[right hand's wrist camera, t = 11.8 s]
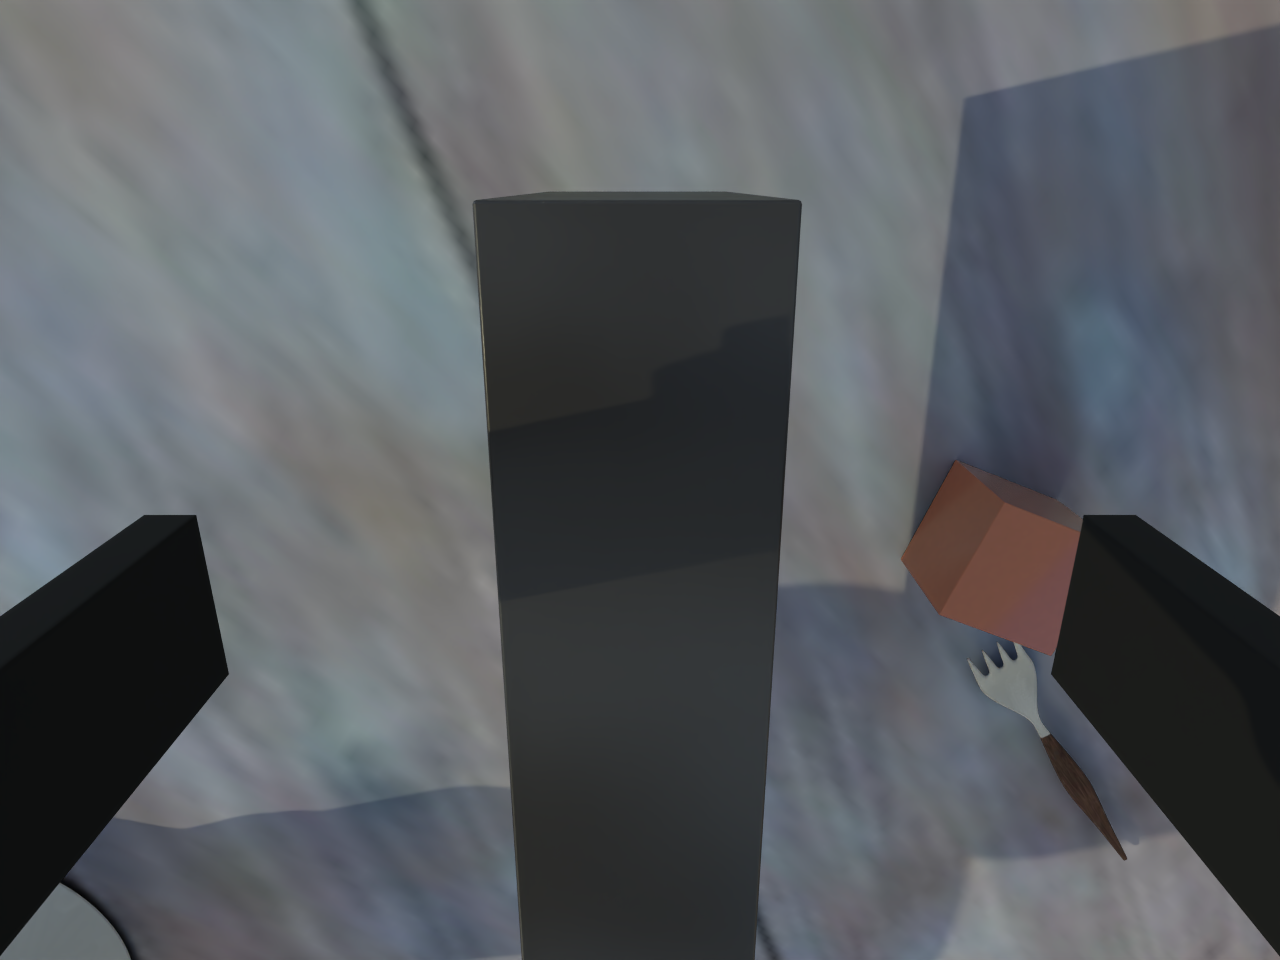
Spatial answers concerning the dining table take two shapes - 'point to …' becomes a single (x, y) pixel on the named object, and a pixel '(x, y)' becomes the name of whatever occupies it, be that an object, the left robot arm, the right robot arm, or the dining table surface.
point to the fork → (1041, 729)
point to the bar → (637, 554)
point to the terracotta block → (996, 557)
